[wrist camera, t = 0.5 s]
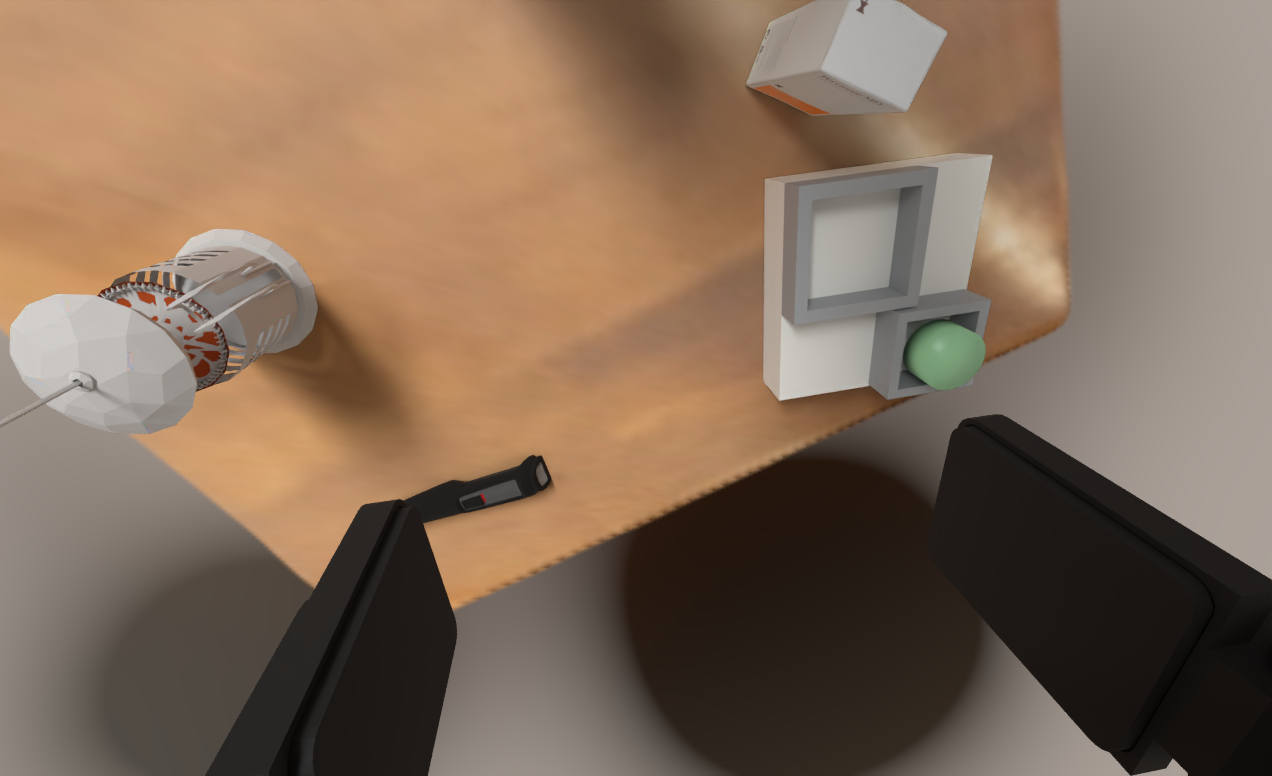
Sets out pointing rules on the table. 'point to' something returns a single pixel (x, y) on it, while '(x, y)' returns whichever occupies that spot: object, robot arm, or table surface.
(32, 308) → the french press
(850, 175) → the white socket tray
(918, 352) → the on button
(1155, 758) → the robot arm
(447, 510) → the electric trimmer
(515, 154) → the table surface
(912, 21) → the skincare box
